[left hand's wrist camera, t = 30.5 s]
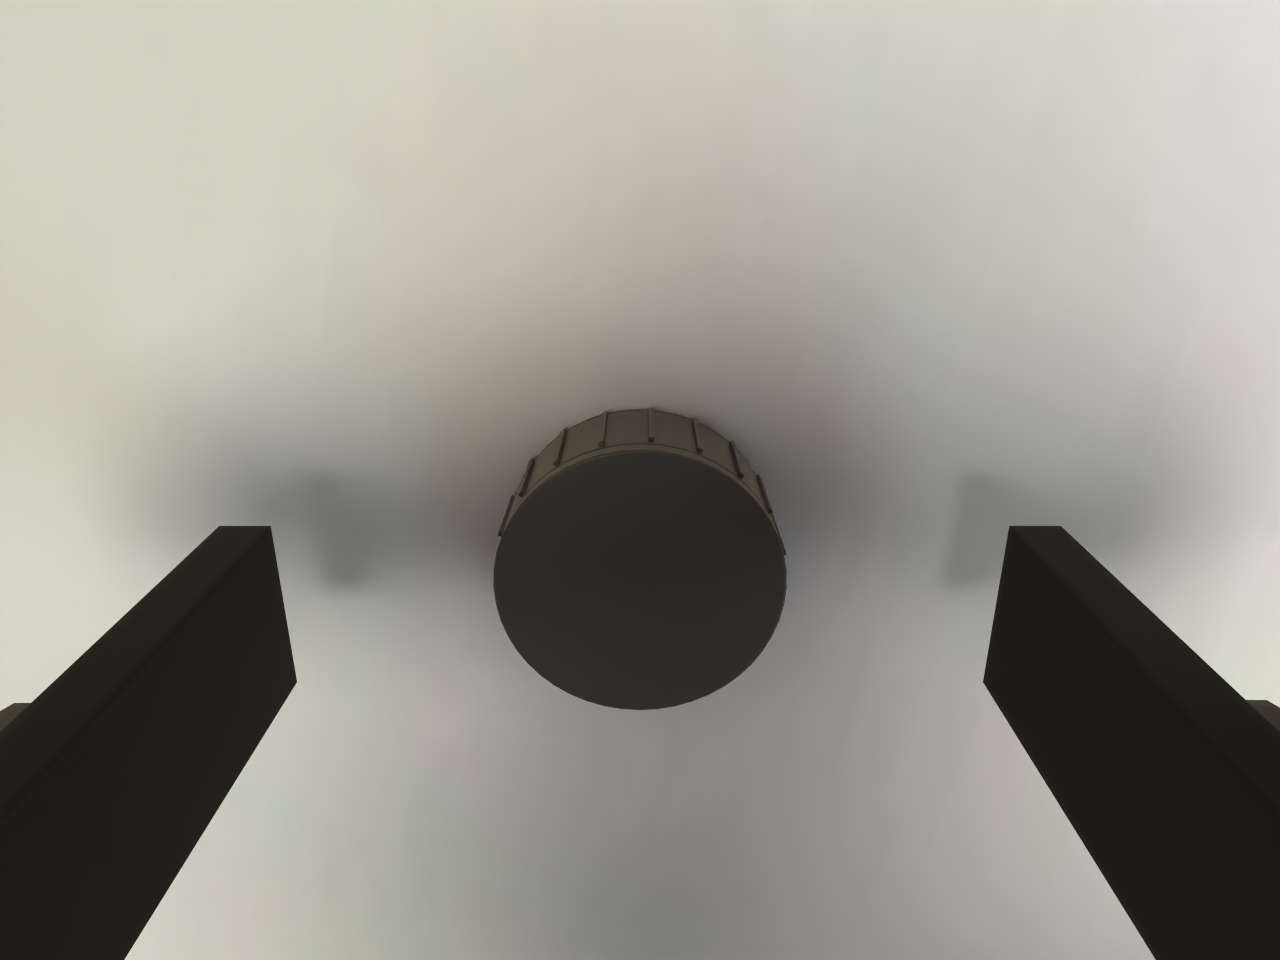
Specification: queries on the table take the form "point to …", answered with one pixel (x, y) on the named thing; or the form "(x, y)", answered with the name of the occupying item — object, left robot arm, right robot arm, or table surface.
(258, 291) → the table surface
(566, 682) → the cap
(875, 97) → the table surface
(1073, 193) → the table surface
